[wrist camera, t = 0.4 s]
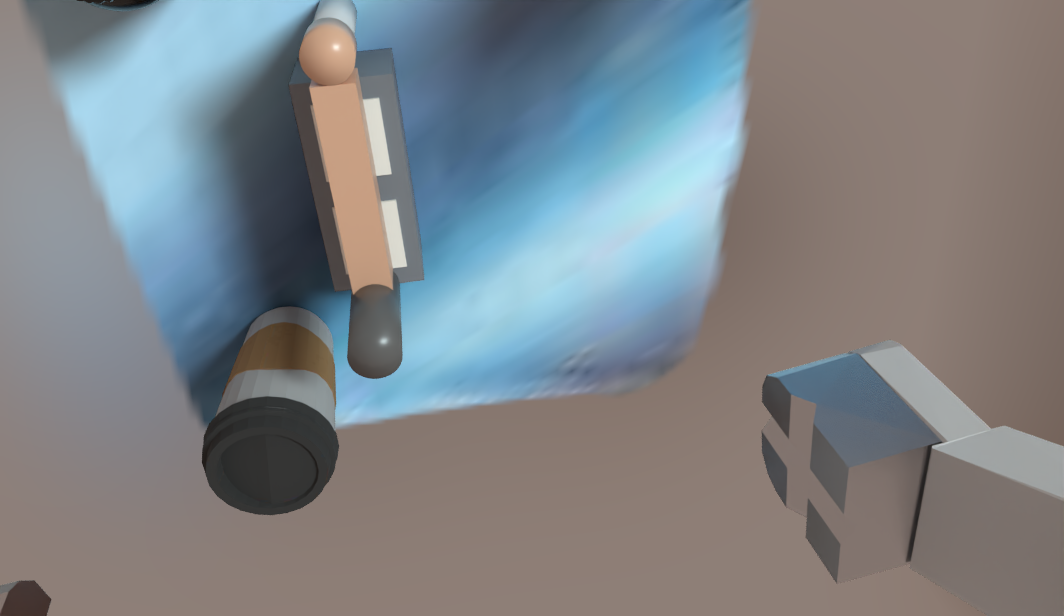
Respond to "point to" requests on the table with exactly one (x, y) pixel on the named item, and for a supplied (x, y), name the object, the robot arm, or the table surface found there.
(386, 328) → the swing arm
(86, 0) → the supplement bottle
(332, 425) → the coffee cup
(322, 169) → the box
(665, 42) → the table surface
